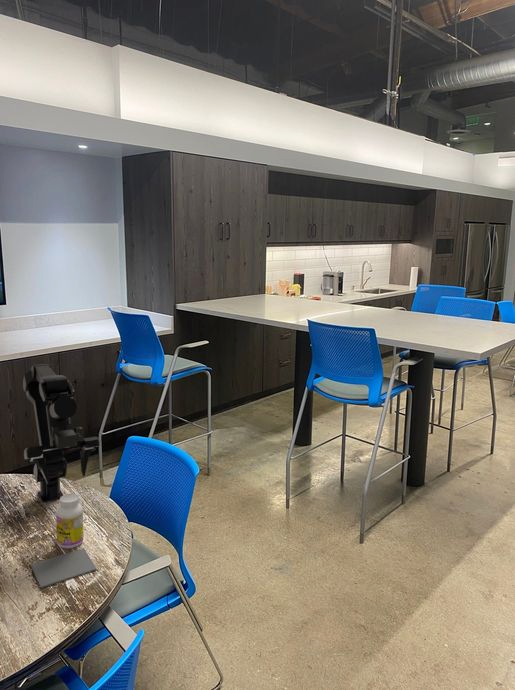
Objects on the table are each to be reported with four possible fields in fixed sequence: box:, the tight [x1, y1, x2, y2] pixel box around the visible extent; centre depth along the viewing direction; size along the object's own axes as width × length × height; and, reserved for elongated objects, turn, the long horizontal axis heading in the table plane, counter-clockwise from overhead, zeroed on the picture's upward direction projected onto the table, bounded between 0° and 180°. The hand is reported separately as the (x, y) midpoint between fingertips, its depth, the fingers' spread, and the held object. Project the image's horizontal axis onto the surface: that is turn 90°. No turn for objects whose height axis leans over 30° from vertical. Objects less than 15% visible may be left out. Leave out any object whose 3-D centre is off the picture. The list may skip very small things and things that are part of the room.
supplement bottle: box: [55, 493, 84, 549], centre depth 138 cm, size 7×7×13 cm
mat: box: [30, 547, 98, 589], centre depth 129 cm, size 10×13×1 cm
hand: (66, 479), depth 142 cm, fingers open, 9 cm apart
